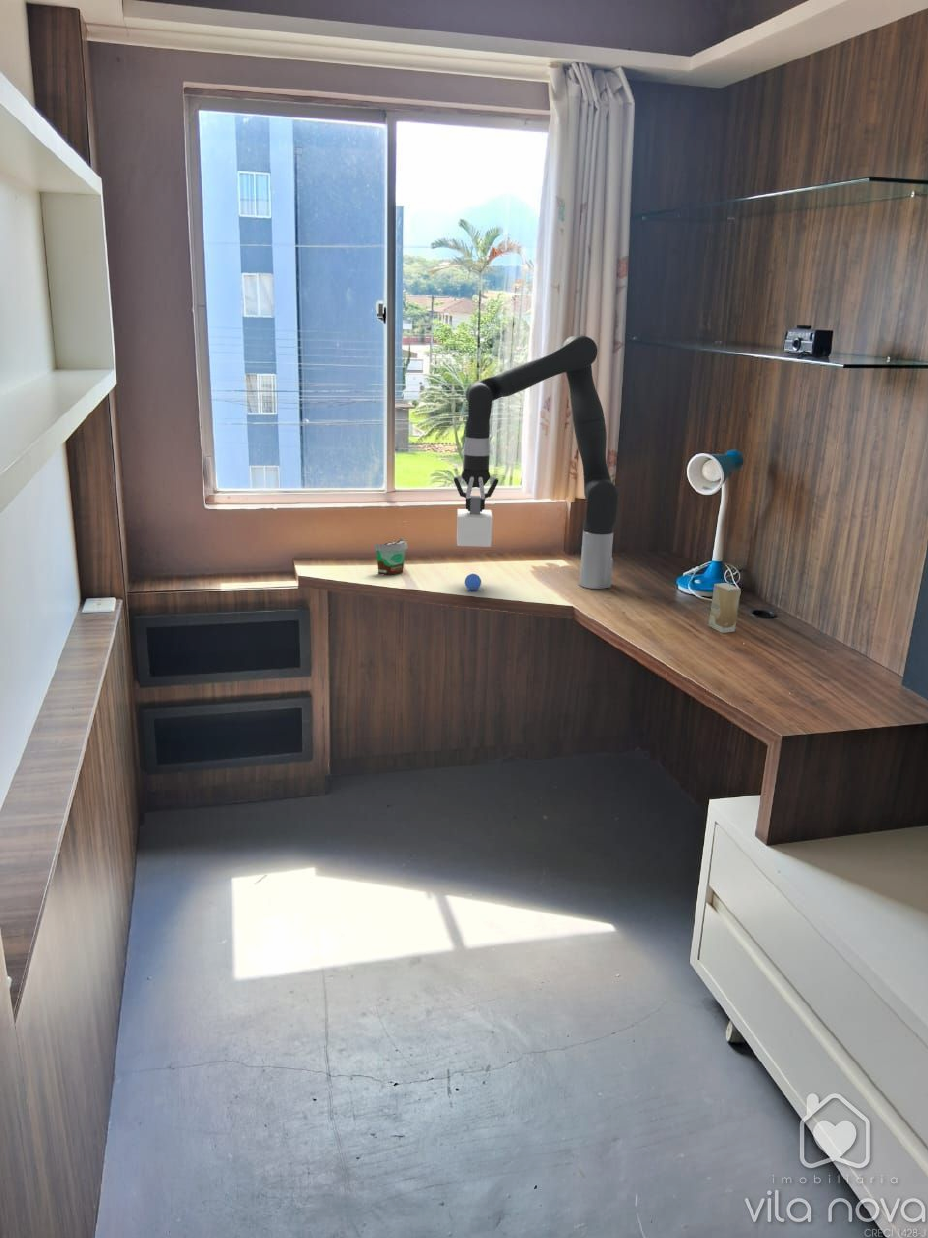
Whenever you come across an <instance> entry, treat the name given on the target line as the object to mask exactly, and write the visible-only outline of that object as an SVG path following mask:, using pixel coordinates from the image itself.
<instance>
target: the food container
mask: <svg viewBox="0 0 928 1238" xmlns="http://www.w3.org/2000/svg"><path fill="white" fill-rule="evenodd" d="M407 549H408V544H407V541H406V539H405V538H402V537H399V540H398V541H389V542H386V543H383V544H380V543H376V544H375V547H374V551H376V564H377V574H378V575H381V574H384V575H383V576H396V574H398V575H402V574H403V573H404V566H405V556H406V550H407Z"/></svg>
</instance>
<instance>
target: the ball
mask: <svg viewBox="0 0 928 1238" xmlns="http://www.w3.org/2000/svg"><path fill="white" fill-rule="evenodd" d="M464 585H465V588H466V589H468V590H470V591H477V590H478V589H480V587H481V586H482V579H481V577H480V575H478V574H476V573H471V574H468V575H467V576H466V577H465V578H464Z"/></svg>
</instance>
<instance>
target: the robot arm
mask: <svg viewBox="0 0 928 1238" xmlns="http://www.w3.org/2000/svg"><path fill="white" fill-rule="evenodd" d="M597 356H598V346H597V343H596V342H595V340H594V339H592V338H591V337H589V336H586V335H582V334H581V335H580V334H577V335H572V336H569V337H568V338H567V339H566V340H564V342H563V344H562V347H560V348H558V349H557V350H555V351H552V352H551V353H548V354H546V355H544V356H542V357H539V358H535V359H532V360H530V361H525V362H523V363H520V364H518V365H516V366H515V365H514V366H513V367H511V368H509V369H506V370H504V371H501V372H500V373H497V374H495V375H493V376H491V377H490V376H489V377H486V378H484V379H481V380H477V381H476V382H473V383H472V384H470V385H469V386H468V387H467V389H466V390H465V391H466V392H465V399H466V401H467V403H468V408H467V409H468V413H467V415H468V416H467V419H466V422H465V441H464V448H463V470H462V473H461V474H460V475H458V476H454V477H453V482H454V483H455V484H454V485H455V487H456V489H457V491H458V494H459V496H460V497H462V498H464V499H465V509H468V511H470V496H471V495H472V494H471V492H472V489H475V488H477V489H479V493H480V497H481V502H480V512H482V510H486V508H485V507H486V506H485V505H486V500H487V499H488V498H491V497H492V496H493V494H494V492H495V489H496V487H497V485H498V483H499V478H498V477H494V476H492V475H491V473H490V455H491V442H490V440H491V439H490V438H491V437H490V436H491V435H490V434H491V433H490V431H491V415H492V409H493V402H494V401H496V400H498V399H500V398H506V397H510V396H513V395H515V394H518V393H520V392H522V391H524V390H526V389H528V388H531V387H533V386H536V385H537V384H539V383H541V382H543V381H546V380H548V379H550V378H552V377H555V376H558V375H561V374H565V373H566V378H567V381H568V387H569V394H570V395H569V396H570V405H571V414H572V422H573V423H572V424H573V429H574V434H575V438H576V443H577V444H576V445H577V448H578V452H579V456H580V459H581V465H582V472H583V473H582V474H583V476H582V477H583V493H584V498H585V500H586V508H585V509H586V510H585V511H586V512H585V519H584V521H583V525H582V526H583V527H582V541H581V552H580V553H581V554H580V567H579V568H580V570H579V579H578V580H579V583H578V584H579V586H580V587H582V588H584V589H591V590H604V589H611V585H612V584H611V583H612V573H613V562H614V561H613V560H614V559H613V557H612V554H613V553H612V552H613V542H614V541H613V540H614V531H615V530H614V528H615V525H616V522H617V514H618V513H617V512H618V506H619V505H618V504H619V503H618V501H619V493H618V489H617V487H616V485H615V484H614V483H613V482H612V480H611V476H610V471H609V468H608V464H607V463H608V461H607V445H608V444H607V443H608V442H607V440H608V438H607V437H608V436H607V425H606V419H605V413H604V408H603V405H602V401H601V400H600V397H599V394H598V391H597V388H596V386H595V383H594V377H593V368H592V364H593V363H594V362H595V361H596V358H597ZM462 479H463V481H464V482H465V484H466V485H467V487H466V492H465V491H464V490H463V488H462V483H463V482H462ZM488 481H490V482H489V483H490V487H489V488H488V491H487V492H485V485H486V484H487V483H488Z"/></svg>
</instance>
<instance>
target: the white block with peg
mask: <svg viewBox="0 0 928 1238" xmlns="http://www.w3.org/2000/svg"><path fill="white" fill-rule="evenodd" d="M480 502H481V495H470V511H468V509H466V508H457V520H456V523H457V524H456V546H457V547H485V548H487V547H488V548H491V547H492V542H493V540H492V539H493V538H492V537H493V521H494V520H493V511H492V509H484V510H482V512H480Z"/></svg>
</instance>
